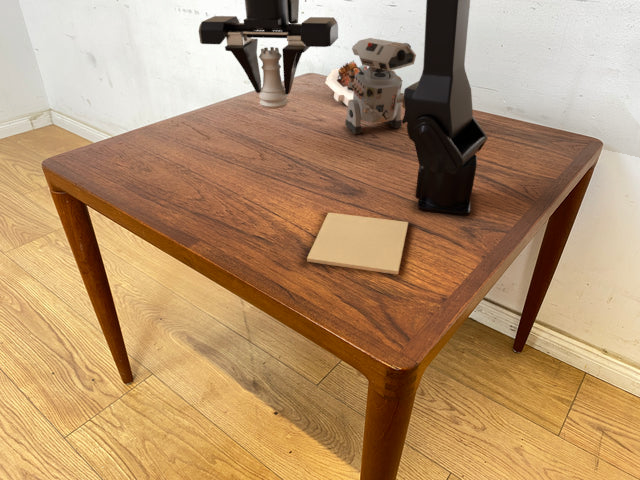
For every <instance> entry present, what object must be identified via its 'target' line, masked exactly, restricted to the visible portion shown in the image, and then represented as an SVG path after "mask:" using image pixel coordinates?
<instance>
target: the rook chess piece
mask: <svg viewBox="0 0 640 480" xmlns="http://www.w3.org/2000/svg"><path fill="white" fill-rule="evenodd" d="M269 48H270V50H269ZM269 48H268V47H264V48H261V49H260V54H259V56H258V58H259V60H260V61H261V62H262V66H261V69H262V72H263V73H262V74H263V77H262V79H263V81H262V86H261V92H260V93H258V98H259V99H260V101H259V102H258V103H259V105H260V106H261V107H262V108H263V109H267V110H276V109H283V108H284V107H287V105H288V103H289V102H290V100H289V99H288V97H289V94H286V92H285V87H284V83H283V82H282V75H281V68H282V66H281V64H280V60H281V58H282V57H283V54H281V53H280V50H279V47H274V46H270V47H269Z"/></svg>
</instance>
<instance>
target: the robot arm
mask: <svg viewBox="0 0 640 480" xmlns="http://www.w3.org/2000/svg"><path fill="white" fill-rule="evenodd" d="M244 7H245V16H246V18H244V19H243V22H240V20H239V19H238V17H237V16H236V15H234V16H233V15H224V16H223V15H214V16H211V17H209V18H207V19H205V20H203V21H201V23H200V24H199V26H198V36H199V37H198V38H199V42H200V44H201V45H221V44H222V43H223V42H224V41H225V40H226V45H225V46H224V49H225V51H226V52H231V54H232V55H233V56H234V58H235V59H236V61H237V62H238V63H239V65H240V66H241V68H242V70H243V72H245V74H246V77H247V78H248V80H249V82H250V84H251V85H252V87H253V89H254V91H255V93H257V94H260V92H261V91H262V89H261V88H262V77H261V71H260V66H259V59H258V58H259V57H258V40H259V39H286V42H287V45H286V46H284V47H283V48H282V49H281V50H282V68H283V70H282V71H283V86H284V89H285V92H286V94H288V95H290V94H291V92H292V87H293V83H294V79H295V76H296V71H297V68H298V65H299V62H300V59H301V57H302V54H303V53H305V52H306V51H307V50H308V49H309V48H327V47H332V46H333V44H334V43H335V42H336V41H337V40H338V39H339V23H338V21H337V20H336V19H335V17H329V16H328V17H327V16H326V17H325V16H310V17H308V18H307V19H305V20H304V21H302V22H301V23H299V12H300V11H299V9H300V8H299V7H300V0H244ZM470 8H471V0H426V4H425V23H424V24H425V25H424V42H423V43H424V44H423V64H422V65H423V66H422V73H421V76H420V78H419V80H418V81H416V82H414V83H413V84H411V85H409V86H407V87H405V88H404V91H403V94H404V103H405V108H404V115H403V117H402V119H401V120H402V125H404V124H406V133H407V136H408V139H409V140H411V141H412V142H413V144H414V148H415V153H416V156H417V157H416V158H417V161H418V165H419V166H418V171H417V179H416V186H415V187H416V188H415V199H417V200H418V201H417V209H418V210H420V211H425V212H426V211H427V212H435V213H444V214H452V215H459V216H460V215H462V216H469V215H470V214H471V200H472V199H471V198H472V193H473V187H474V183H475V178H476V172H477V165H478V161H477V160H478V156H477V153H479V152H480V151H481V150H482V149H483V147H484V145H485V144H486V143H487V141H488V138H489V137H488V135H487V133H486V132H485V131H484V130H483V128H482V127H481V125H480V124H479V122H478V121H477V120H476V118H475V116H474V115H473V114H474V112H473V96H472V87H471V84H470V82H469V78H468V75H467V71H466V66H465V61H466V60H465V59H466V50H467V40H468V30H469V19H470Z"/></svg>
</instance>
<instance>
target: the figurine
mask: <svg viewBox="0 0 640 480" xmlns="http://www.w3.org/2000/svg"><path fill="white" fill-rule="evenodd" d="M351 51H352V53H353V55H354V56H357V57H359V61H360V63H361V66H362V65H365V66H367V68H368V69H365V70H361V69H360V68H359V67H360V66H357V67H353V68H352V70H350V71H349V81H348V88H347V89H348V90H353V91H354V94H353V100H351V101H349V104H348V106H347V109H346V118H345V125H344V126H346V127H347V129H348V130H350V131H351V132H352V133H354V135H358V134H361V133H363V128H362V123H361V122H366V123H370V124H375V123H376V124H377V123H378V124H379V123H385V122H386V123H388V125H391V127H393V128H394V129H398V128H401V127H402V126H403V123H402V120H403V119H402V108H403V109H405V103H404V93H401V92H402V86H403V79H402V77H401V76H399V75H398V74H396V72H395V70H399V69H402V68H405V67H409V66H412V65H414V64H415V61H416V58H417V54H416V52H415V51H414V50H413V49H412V46H411V45H410V43H408V42H404V43H403V42H398V41H391V40H384V39H381V38H379V39H378V38H373V37H369V38H364V39H360V40H358V41H357V42H356V43H354V45H352V47H351ZM354 68H358V69H359V70H360V71H359V72H358V73H357V74H356V75H355V70H353V69H354ZM354 78H355V80H354ZM401 103H402V104H401Z"/></svg>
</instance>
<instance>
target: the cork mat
mask: <svg viewBox="0 0 640 480" xmlns="http://www.w3.org/2000/svg"><path fill="white" fill-rule="evenodd" d="M408 227H409V221H403V220H395V219H386V218H378V217H370V216H362V215H353V214H352V215H351V214H345V213H336V212H327V214H326V217H325V219H324V221H323V223H322V225H321V227H320V229H319V232H318V234H317V236H316V238H315V240H314V243H313V245H312V247H311V249H310V250H309V253H308V255H307V257H306V261H307V263H314V264H321V265H327V266H328V265H329V266H335V267H342V268H349V269H355V270H363V271H368V272H375V273H376V272H377V273H382V274H383V273H384V274H391V275H399V272H400V268H401V261H402V257H403V253H404V247H405V242H406V237H407V232H408Z"/></svg>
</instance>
